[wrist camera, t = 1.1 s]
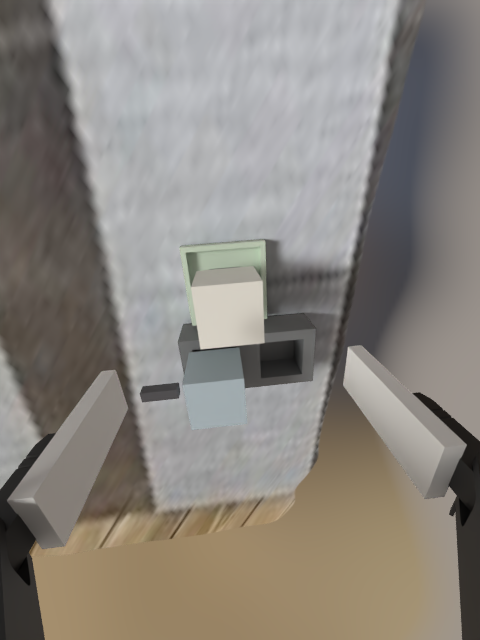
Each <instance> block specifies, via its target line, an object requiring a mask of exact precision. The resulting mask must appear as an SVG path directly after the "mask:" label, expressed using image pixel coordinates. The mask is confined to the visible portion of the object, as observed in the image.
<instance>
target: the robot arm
mask: <svg viewBox="0 0 480 640" xmlns="http://www.w3.org/2000/svg"><path fill="white" fill-rule="evenodd" d="M343 385H344V387H345V388H346V390H347V391H348V392H349V394H350V395H351V397H352V398H353V400H354V401H355V402H356V404H357V405H358V407H359V408H360V409H361V411H362V412H363V413H364V415H365V416H366V418H367V419H368V420H369V422H370V423H371V425H372V426H373V427H374V429H375V430H376V432H377V433H378V434H379V436H380V437H381V438H382V440H383V441H384V443H385V444H386V446H387V447H388V448H389V450H390V451H391V453H392V454H393V455H394V457H395V458H396V460H397V461H398V462H399V464H400V465H401V467H402V468H403V469H404V471H405V472H406V474H407V475H408V476H409V478H410V479H411V481H412V482H413V483H414V485H415V486H416V488H417V489H418V490H419V492H420V493H421V494H422V496H423V497H424V499H430V498H438V497H444V496H445V494H446V492H447V489H448V487H449V486H450V488H451V489H452V490H453V491H454V492H455V494H456V495H457V497H456V499H455V501H454V503H453V505H452V507H451V510H450V513H449V515H451V516H453V515H454V513H455V511H456V530H457V548H458V566H459V585H460V605H461V622H462V640H480V441H479V440H478V439H476V438H475V437H474V436H473V435H472V434H471V433H470V432H468V431H467V430H466V429H465V428H464V427H463V426H462V425H460V424H459V423H458V422H457V421H456V420H455V419H454V418H451V416H450V415H449V414H448V413H447V412H446V411H445V410H444V411H443V409H442V408H441V407H440V406H439V405H438V404H437V403H436V402H434V401H433V400H432V399H430V398H428V397H427V396H425V395H423V394H421V393H411V392H410V391H409V390H408V389H407V388H406V387H405V386H404V385H403V384H402V383H401V382H399V381H398V380H397V379H396V378H395V377H394V376H393V375H392V374H391V373H390V372H389V371H388V370H387V369H386V368H385V367H384V366H383V365H382V364H380V363H379V362H378V361H377V360H376V359H375V358H374V357H373V356H372V355H371V354H370V353H369V352H368V351H367V350H366V349H365V348H363V347H362V346H361V345H360V346H350V347H348V352H347V360H346V368H345V376H344V384H343ZM127 410H128V406H127V403H126V400H125V397H124V394H123V391H122V388H121V385H120V382H119V379H118V376H117V373H116V370H110V371H101V373H100V374H99V375H98V377H97V378H96V379H95V381H94V382H93V384H92V385H91V386H90V388H89V389H88V390H87V392H86V393H85V395H84V396H83V397H82V399H81V400H80V401H79V403H78V404H77V405H76V407H75V408H74V410H73V411H72V412H71V414H70V415H69V416H68V418H67V419H66V420H65V422H64V423H63V425H62V426H61V427H60V429H59V430H58V431H57V433H54V434H48V435H47V436H45V437H44V438H43V439H42V440H41V441H40V442H38V443H37V444H36V445H35V446H34V447H33V449H32V450H31V451H30V452H29V454H28V455H27V456H26V459H24V460H23V461H22V463H21V464H20V465H19V466H18V469H16V470H15V472H14V473H13V474H12V475H11V477H10V478H9V479H8V481H7V482H6V483H5V484H4V486H3V487H2V488H1V489H0V640H45V638H44V632H43V625H42V619H41V613H40V607H39V600H38V593H37V587H36V581H35V575H34V569H33V562H32V557H31V556H30V554H29V551H30V549H31V547H32V546H33V544H34V542H35V540H36V541H37V542H38V544H39V545H40V547H41V548H42V549H47V548H55V547H62V546H65V545H66V543H67V541H68V538H69V536H70V534H71V532H72V530H73V527H74V525H75V523H76V521H77V519H78V517H79V514H80V512H81V510H82V508H83V506H84V503H85V501H86V499H87V497H88V495H89V493H90V490H91V488H92V486H93V484H94V482H95V480H96V477H97V475H98V473H99V471H100V469H101V466H102V464H103V462H104V460H105V458H106V456H107V453H108V451H109V449H110V447H111V445H112V443H113V440H114V438H115V436H116V434H117V432H118V429H119V427H120V425H121V423H122V421H123V419H124V416H125V414H126V412H127Z"/></svg>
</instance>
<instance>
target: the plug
mask: <svg viewBox="0 0 480 640" xmlns="http://www.w3.org/2000/svg"><path fill="white" fill-rule="evenodd" d="M191 291H192V298H193V304H194V311H195V317H196V323H197V330H198V336H199V343H200V349H211V348H221V347H231V346H241V345H251V344H261V343H265V340H264V308H263V281H262V279H261V277H260V276H259V274H258V273H257V271H256V269H255V268H254V266H248V267H241V266H240V267H228V268H217V269H209V270H201V271H196V274H195V277H194V280H193V283H192V285H191Z"/></svg>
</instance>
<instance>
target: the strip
mask: <svg viewBox="0 0 480 640" xmlns="http://www.w3.org/2000/svg"><path fill="white" fill-rule="evenodd" d="M315 337H316V328H315V327H314V325H313V324H312V323H311V322H310V321H309V319H308V318H307V317H306V316H305V315H304V313H300V314H289V315H279V316H268V317H267V319H264V340H265V343H261V344H251V345H241V346H231V347H221V348H211V349H200V343H199V336H198V330H197V325H196V326H192V324H184V325H183V327H182V330H181V333H180V337H179V340H178V346H179V351H180V356H181V361H182V366H183V371H184V379H183V384H182V386H183V391H184V396H185V401H186V405H187V410H188V415H189V420H190V425H191V430H197V429H206V428H214V427H223V426H232V425H240V424H247V412H246V398H245V388H250V387H260V386H269V385H278V384H287V383H297V382H306V381H313V367H314V352H315ZM179 395H180V388H179V383H172V384H162V385H153V386H143V387H142V390H141V392H140V396H141V399H142V402H149V401H159V400H168V399H177V398H179Z"/></svg>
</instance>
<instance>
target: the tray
mask: <svg viewBox="0 0 480 640" xmlns="http://www.w3.org/2000/svg"><path fill="white" fill-rule="evenodd" d="M180 254H181V261H182V267H183V273H184V279H185V285H186V291H187V297H188V303H189V309H190V315H191V321H192V326H196V325H197V323H196V317H195V311H194V304H193V298H192V291H191V285H192V283H193V280H194V277H195V274H196V271H201V270H209V269H217V268H228V267H240V266H241V267H248V266H254V268H255V269H256V271H257V273H258V274H259V276H260V277H261V279H262V281H263V308H264V319H267V288H266V248H265V240H263V239H259V240H246V241H234V242H222V243H209V244H197V245H185V246H181V247H180Z"/></svg>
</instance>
